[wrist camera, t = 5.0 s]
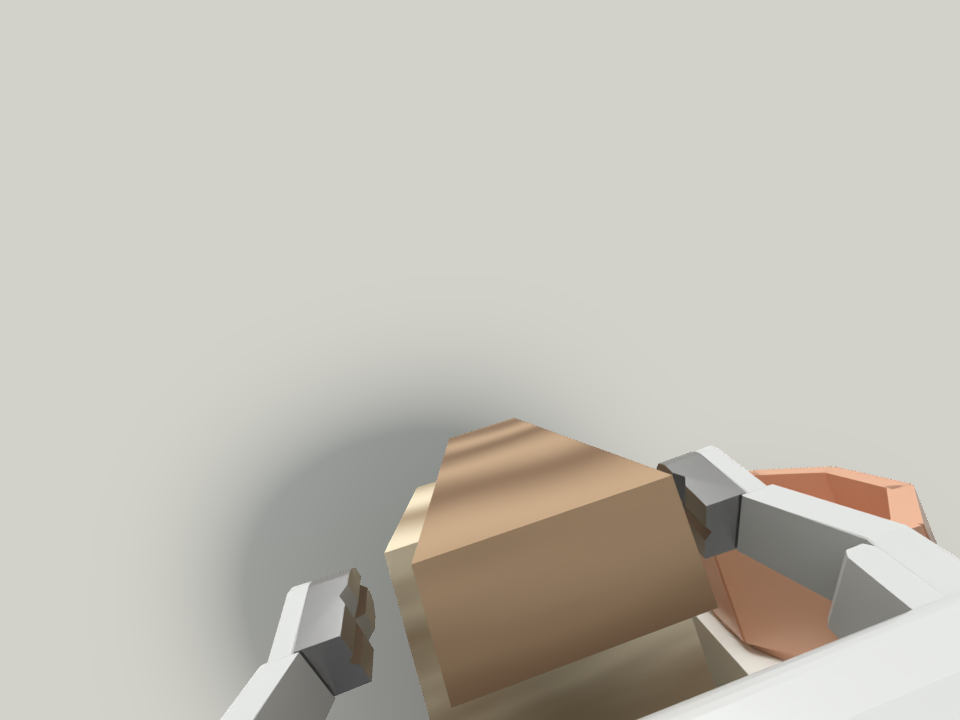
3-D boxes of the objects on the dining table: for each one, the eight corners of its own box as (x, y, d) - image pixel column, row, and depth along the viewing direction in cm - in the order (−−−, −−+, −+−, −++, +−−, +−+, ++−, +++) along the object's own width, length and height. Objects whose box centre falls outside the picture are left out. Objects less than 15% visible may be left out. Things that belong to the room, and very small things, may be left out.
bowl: (1049, 633, 13) (995, 502, 13) (799, 708, 13) (752, 576, 13) (822, 533, 22) (794, 457, 22) (675, 578, 22) (649, 501, 22)
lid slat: (718, 608, 6) (672, 475, 6) (451, 708, 6) (410, 564, 6) (524, 449, 25) (514, 417, 25) (459, 471, 25) (449, 438, 25)
